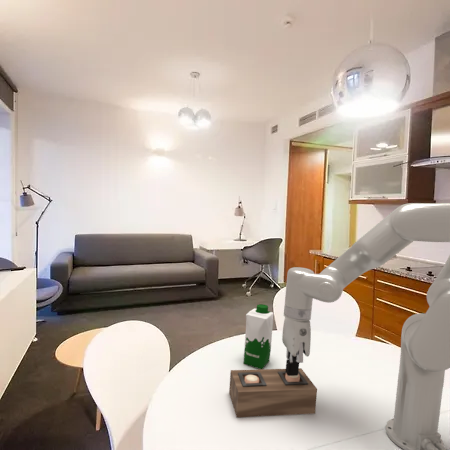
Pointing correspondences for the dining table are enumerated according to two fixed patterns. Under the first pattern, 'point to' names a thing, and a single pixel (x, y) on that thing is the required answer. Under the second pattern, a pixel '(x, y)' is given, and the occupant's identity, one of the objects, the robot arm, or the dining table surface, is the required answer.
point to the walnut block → (271, 393)
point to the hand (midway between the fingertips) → (291, 373)
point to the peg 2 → (292, 378)
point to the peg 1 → (251, 379)
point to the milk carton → (258, 336)
